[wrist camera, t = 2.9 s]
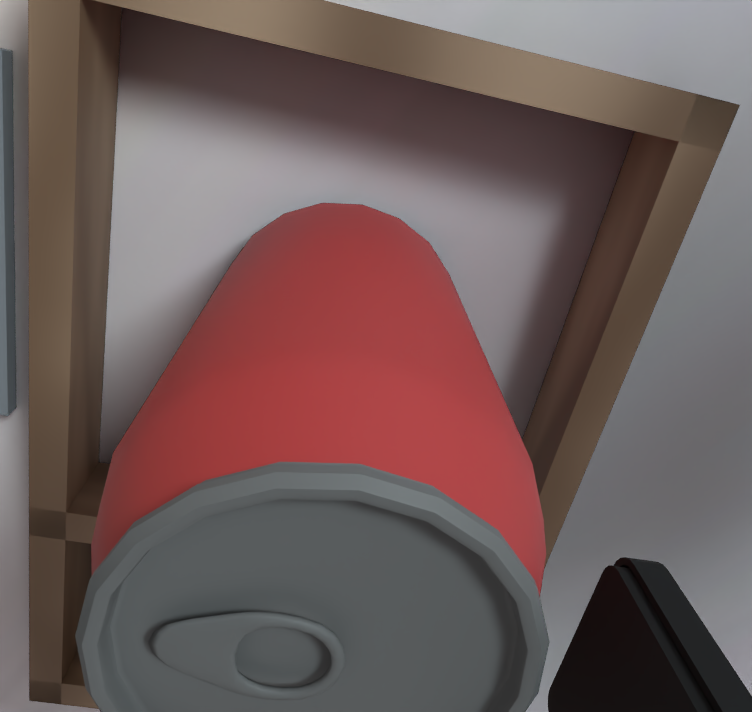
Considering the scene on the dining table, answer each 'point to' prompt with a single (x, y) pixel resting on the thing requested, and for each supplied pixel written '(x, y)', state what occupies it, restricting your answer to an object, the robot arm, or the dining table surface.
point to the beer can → (320, 497)
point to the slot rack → (364, 47)
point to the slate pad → (7, 240)
